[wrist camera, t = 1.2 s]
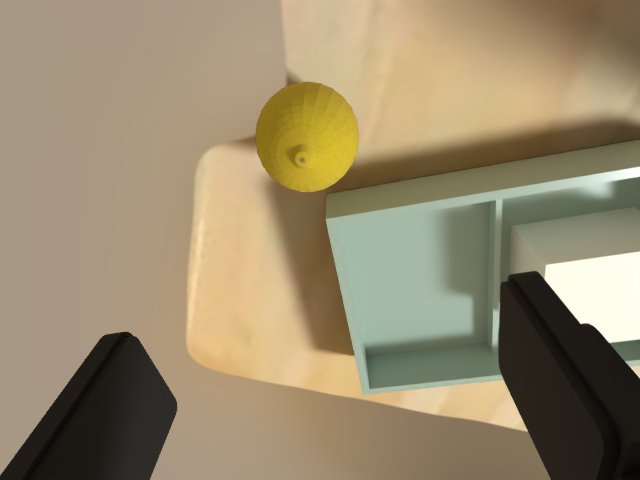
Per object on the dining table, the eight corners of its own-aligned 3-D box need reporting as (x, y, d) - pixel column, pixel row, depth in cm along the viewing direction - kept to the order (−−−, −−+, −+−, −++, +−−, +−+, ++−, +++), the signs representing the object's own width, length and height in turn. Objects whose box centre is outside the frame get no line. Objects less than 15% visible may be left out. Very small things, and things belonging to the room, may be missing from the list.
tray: (326, 194, 26) (325, 219, 23) (671, 133, 24) (730, 151, 20) (360, 357, 34) (363, 394, 30) (624, 325, 31) (661, 363, 28)
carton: (511, 226, 26) (545, 264, 22) (634, 206, 25) (697, 243, 21) (507, 303, 30) (536, 350, 25) (616, 289, 29) (667, 336, 24)
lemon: (251, 127, 24) (218, 167, 17) (304, 53, 22) (291, 64, 15) (317, 180, 26) (311, 235, 19) (373, 115, 24) (390, 152, 17)
